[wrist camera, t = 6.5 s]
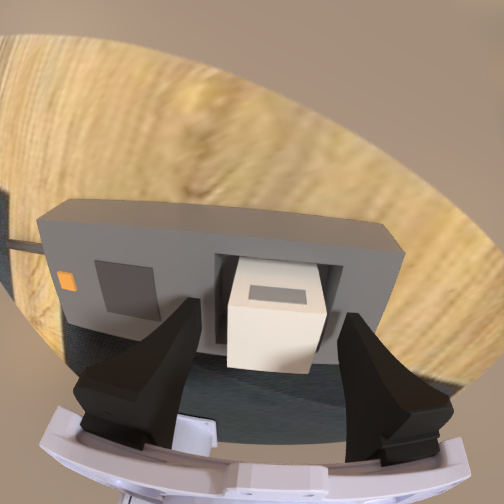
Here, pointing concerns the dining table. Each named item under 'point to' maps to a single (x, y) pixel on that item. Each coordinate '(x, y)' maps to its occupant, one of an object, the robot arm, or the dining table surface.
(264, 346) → the plug
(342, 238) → the power strip
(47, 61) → the dining table surface
